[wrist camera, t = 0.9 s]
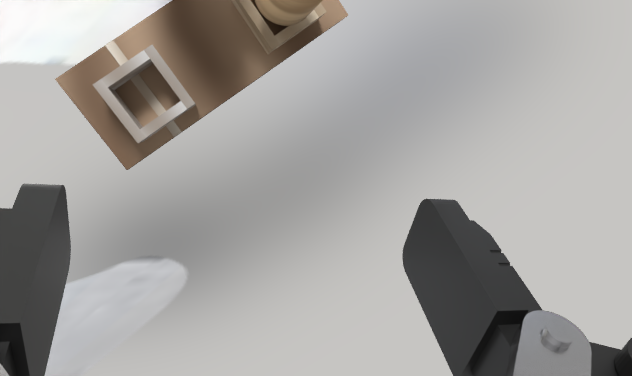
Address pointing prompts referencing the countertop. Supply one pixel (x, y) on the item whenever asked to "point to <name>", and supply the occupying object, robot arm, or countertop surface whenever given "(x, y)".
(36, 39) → the countertop surface
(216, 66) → the plank
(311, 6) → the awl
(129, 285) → the countertop surface
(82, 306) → the countertop surface
